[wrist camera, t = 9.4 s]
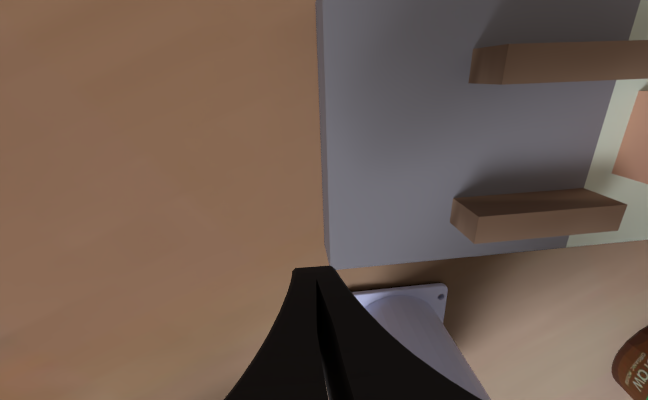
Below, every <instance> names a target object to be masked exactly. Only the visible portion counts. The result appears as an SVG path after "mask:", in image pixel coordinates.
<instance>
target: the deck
mask: <svg viewBox="0 0 648 400" xmlns="http://www.w3.org/2000/svg"><path fill="white" fill-rule="evenodd" d="M316 28H317V55H318V81H319V108H320V135H321V161H322V188H323V215H324V242H325V248H326V253H327V257H328V261H329V266H332V267H333V268H335V270H338V269H349V268H359V267H369V266H380V265H390V264H400V263H411V262H421V261H432V260H442V259H452V258H463V257H473V256H483V255H494V254H504V253H514V252H525V251H535V250H545V249H556V248H566V247H576V246H587V245H597V244H608V243H618V242H628V241H639V240H648V184H645V183H642V182H639V181H635V180H632V179H629V178H625V177H622V176H619V175H615V174H612V170H613V167H614V164H615V161H616V158H617V155H618V152H619V149H620V146H621V143H622V140H623V137H624V134H625V131H626V128H627V125H628V121H629V118H630V115H631V112H632V109H633V106H634V103H635V100H636V97H637V94H638V91H647V90H648V79H627V80H603V81H579V82H555V83H530V84H506V85H497V84H472V83H468V82H469V75H470V67H471V60H472V52H473V49H477V48H483V47H490V46H497V45H504V44H521V43H557V42H592V41H628V40H648V0H316ZM578 188H585V189H588V190H590V191H593V192H596V193H598V194H601V195H604V196H606V197H609V198H612V199H614V200H617V201H620V202H622V203H625V204H628V205H627V208H626V210H625V213H624V216H623V219H622V221H621V224H620V227H619V229H618V231H610V232H599V233H588V234H577V235H567V236H556V237H545V238H534V239H523V240H513V241H502V242H491V243H480V244H474V243H472V242H471V241H470V240H469V239H468V238H467V237H466V236H465V235H463V234H462V233H461V232H460V231H459V230H458V229H457V228H456V227H454V226H453V225H452V224H451V223H450V216H451V209H452V202H453V198H461V197H474V196H487V195H500V194H513V193H526V192H539V191H552V190H565V189H578Z"/></svg>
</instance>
